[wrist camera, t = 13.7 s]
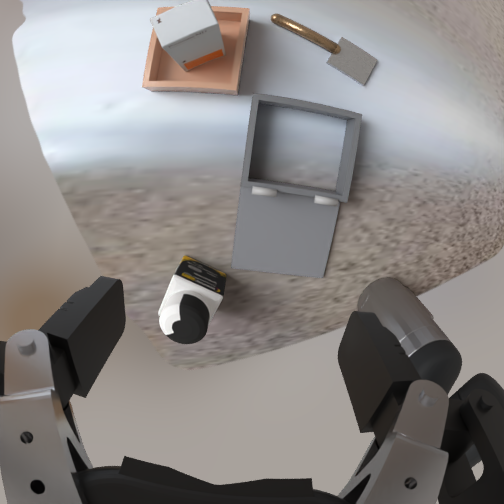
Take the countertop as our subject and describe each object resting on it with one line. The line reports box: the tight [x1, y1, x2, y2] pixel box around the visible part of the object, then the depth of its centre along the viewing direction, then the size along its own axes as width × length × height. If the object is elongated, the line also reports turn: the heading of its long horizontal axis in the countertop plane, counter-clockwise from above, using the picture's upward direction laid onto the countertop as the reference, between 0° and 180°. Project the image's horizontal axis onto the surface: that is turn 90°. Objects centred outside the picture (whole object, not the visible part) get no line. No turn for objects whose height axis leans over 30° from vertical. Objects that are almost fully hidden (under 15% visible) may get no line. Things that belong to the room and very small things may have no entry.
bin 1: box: [142, 6, 250, 95], centre depth 30 cm, size 12×12×4 cm
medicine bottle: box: [158, 256, 226, 344], centre depth 39 cm, size 7×7×12 cm
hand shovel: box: [271, 14, 377, 86], centre depth 31 cm, size 16×5×2 cm, turn 63°
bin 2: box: [231, 93, 362, 278], centre depth 38 cm, size 14×24×4 cm, turn 173°
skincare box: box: [150, 0, 226, 72], centre depth 26 cm, size 6×4×12 cm
